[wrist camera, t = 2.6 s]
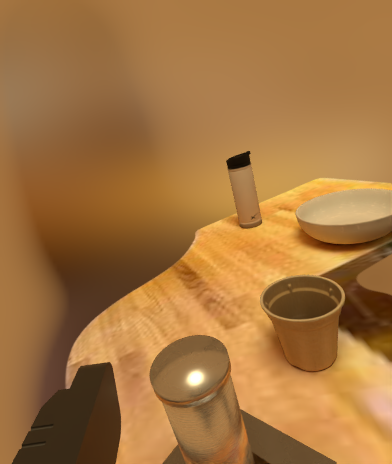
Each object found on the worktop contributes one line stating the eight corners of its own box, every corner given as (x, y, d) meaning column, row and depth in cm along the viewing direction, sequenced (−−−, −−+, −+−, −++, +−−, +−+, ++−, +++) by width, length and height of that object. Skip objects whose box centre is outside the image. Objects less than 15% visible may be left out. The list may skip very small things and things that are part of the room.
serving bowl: (305, 220, 79) (301, 195, 77) (401, 212, 69) (400, 183, 67) (293, 258, 62) (288, 227, 60) (418, 255, 52) (417, 217, 50)
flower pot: (257, 349, 41) (244, 295, 38) (310, 319, 44) (302, 266, 41) (307, 398, 33) (296, 333, 30) (369, 356, 36) (364, 294, 33)
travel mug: (261, 227, 82) (246, 153, 76) (237, 229, 85) (222, 158, 79) (265, 218, 88) (252, 149, 81) (242, 221, 91) (228, 154, 84)
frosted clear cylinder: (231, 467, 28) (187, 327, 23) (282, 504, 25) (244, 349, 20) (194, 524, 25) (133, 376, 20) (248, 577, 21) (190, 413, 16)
